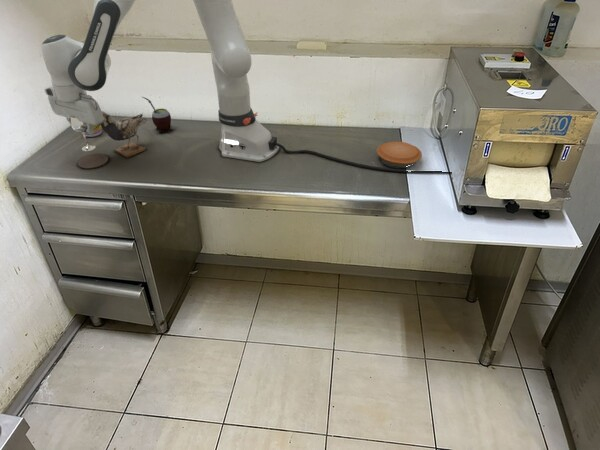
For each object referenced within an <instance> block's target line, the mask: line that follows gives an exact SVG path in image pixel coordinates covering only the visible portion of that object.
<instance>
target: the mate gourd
mask: <svg viewBox="0 0 600 450" xmlns="http://www.w3.org/2000/svg"><path fill="white" fill-rule="evenodd" d="M141 98H143V99H144V100H146V101H148V103H149V105H150V106H151V107H152V109H153V112H151V113H152V114H151V121H152V123H153V124H154V126H155V127H156V131H159V134H160V135H161V134H163V133H164V132H172V129H171V127H172V123H171V122H172V116H171V113H170V112H169V111H168V109H167V108H155V106H154V105H153V103H152V101H151V100H150V99H149V98H147V97H144V96H141Z"/></svg>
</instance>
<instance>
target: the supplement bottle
mask: <svg viewBox="0 0 600 450" xmlns="http://www.w3.org/2000/svg"><path fill="white" fill-rule="evenodd" d="M96 126H97V125H94V128H93V129H95V127H96ZM102 132H103V129H102V127H101V125H100V126H98V127H97V128H96V129H95V130H94V134H92V135H90V134H87V133H85V134H86V135H87V138H93V137H98V136H100V135H102Z"/></svg>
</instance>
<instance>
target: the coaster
mask: <svg viewBox="0 0 600 450" xmlns="http://www.w3.org/2000/svg"><path fill="white" fill-rule="evenodd" d="M108 163H109V157H108V156H107V155H106V154H102V153H95V154H89V155H87V156H84V157H81V158H80V159H79V160H78V161H77V166H78V167H79V168H80V169H81V170H93V169H94V170H95V169H98V168H101V167H104V166H105V165H106V164H108Z"/></svg>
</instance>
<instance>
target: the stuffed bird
mask: <svg viewBox="0 0 600 450" xmlns="http://www.w3.org/2000/svg"><path fill="white" fill-rule="evenodd" d="M101 112H102V114H103V117H104V121H103V123H101V124H99V125H97V126H96V127H95V129H96V128H97V127H98V126H101V130H102V131H103V132H104V133H106V134H107V136H108V137H109V138H111V139H112V140H114V141H119V142H120V141H126V140H128V141H127V143H125V144H123V145H121V146H119V147H116V148H114V149H113V150H114V152H115V153H117V154H119V155H121V156H123V157H125V158H130V157H132V156H135V155H136V154H139V153H142V152H144V151H146V147H144V146H142V145H140V144H139V143H136V142H134V141H131V142H130V140H131V138H134V137H136V138H137V139H136V140H137V142H139V135H138V130H139V127H141V126H142V125H145V124H146V122H147V121H148V118H145V117H143V116H144V115H143V114H144V112H142V113H140V114H137V115H135V116H129V117H124V118H121V119H118V120H116V119H115V118H114V117H112V115H110V114H109V113H107V112H106V111H103V110H101ZM95 129H94V130H95Z"/></svg>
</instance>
